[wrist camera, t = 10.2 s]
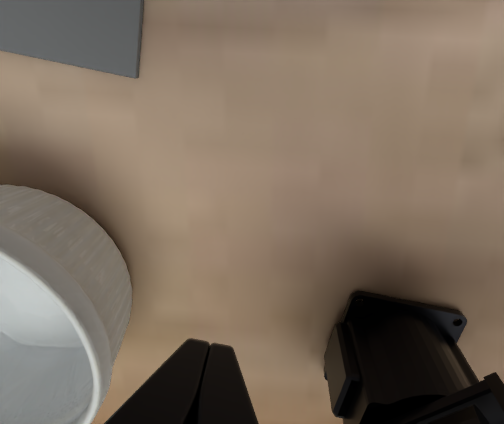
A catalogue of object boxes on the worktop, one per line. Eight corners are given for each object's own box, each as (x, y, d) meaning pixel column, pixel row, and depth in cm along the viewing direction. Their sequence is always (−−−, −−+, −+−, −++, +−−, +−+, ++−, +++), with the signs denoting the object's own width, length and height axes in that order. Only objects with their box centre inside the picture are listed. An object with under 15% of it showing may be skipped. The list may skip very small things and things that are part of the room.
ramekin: (-58, 335, 25) (-173, 433, 19) (-89, 139, 20) (-263, 182, 14) (142, 375, 25) (95, 486, 19) (162, 192, 20) (109, 259, 14)
